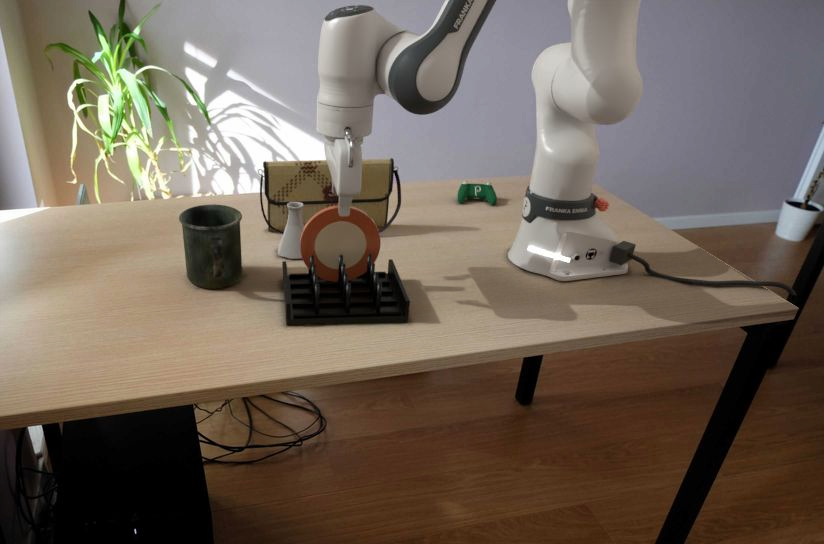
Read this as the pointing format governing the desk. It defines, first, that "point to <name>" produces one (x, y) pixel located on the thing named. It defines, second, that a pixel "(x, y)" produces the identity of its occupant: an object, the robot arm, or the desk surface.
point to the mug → (212, 245)
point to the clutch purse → (325, 190)
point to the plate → (339, 242)
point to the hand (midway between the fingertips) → (340, 204)
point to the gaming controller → (477, 192)
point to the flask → (292, 232)
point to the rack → (345, 297)
